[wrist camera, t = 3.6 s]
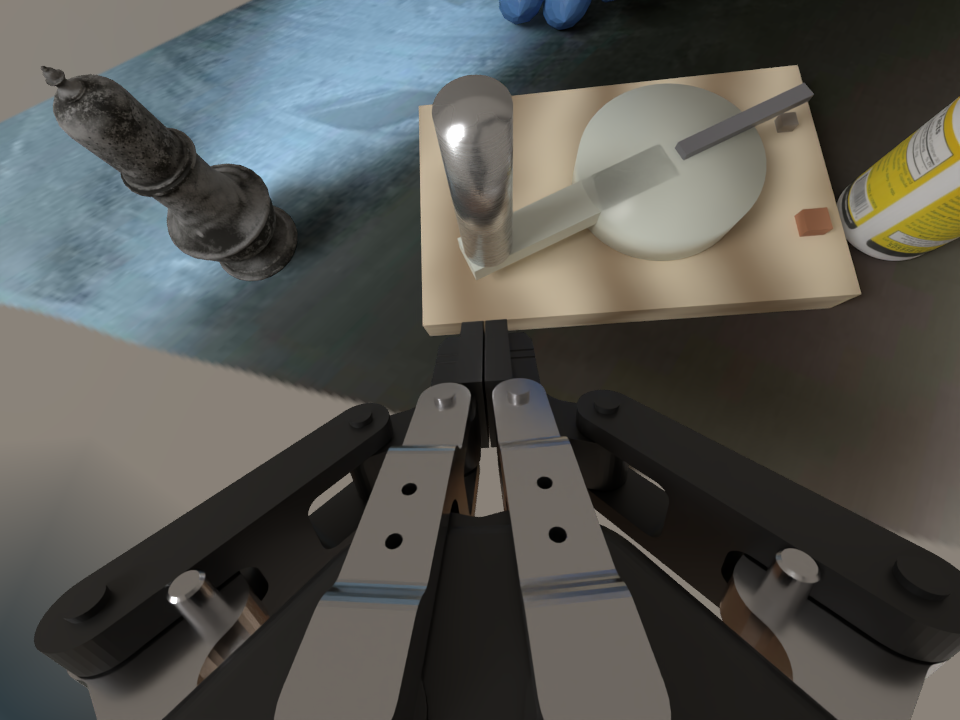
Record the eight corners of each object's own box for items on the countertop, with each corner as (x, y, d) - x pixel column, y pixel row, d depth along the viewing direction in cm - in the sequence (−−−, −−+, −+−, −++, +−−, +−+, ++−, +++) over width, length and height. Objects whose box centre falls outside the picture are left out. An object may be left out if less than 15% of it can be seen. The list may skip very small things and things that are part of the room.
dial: (730, 68, 23) (891, -211, 13) (828, 190, 21) (1105, -36, 11) (436, 206, 22) (378, 20, 13) (507, 345, 20) (502, 250, 11)
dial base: (775, 95, 25) (804, 55, 22) (830, 307, 22) (871, 289, 19) (425, 131, 26) (416, 97, 24) (430, 336, 23) (420, 322, 21)
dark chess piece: (253, 186, 26) (48, -22, 15) (320, 228, 25) (156, 38, 14) (195, 256, 26) (-72, 94, 14) (262, 302, 24) (34, 168, 13)
